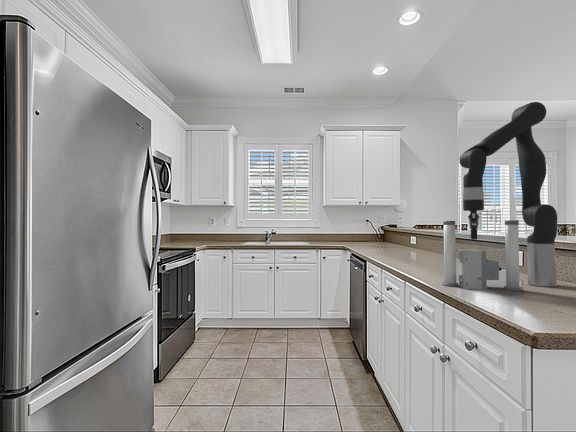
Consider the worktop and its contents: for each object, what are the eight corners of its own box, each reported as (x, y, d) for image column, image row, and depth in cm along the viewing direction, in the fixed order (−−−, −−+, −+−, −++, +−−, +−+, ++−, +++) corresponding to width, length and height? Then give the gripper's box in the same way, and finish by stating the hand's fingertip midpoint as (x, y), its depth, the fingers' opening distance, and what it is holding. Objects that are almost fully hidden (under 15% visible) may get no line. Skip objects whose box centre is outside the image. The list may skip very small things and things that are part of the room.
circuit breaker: (503, 289, 135) (503, 251, 135) (464, 288, 138) (463, 251, 138) (496, 286, 143) (495, 249, 143) (458, 285, 145) (458, 249, 146)
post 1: (458, 284, 147) (457, 220, 147) (458, 287, 141) (456, 220, 142) (443, 283, 150) (441, 220, 150) (442, 286, 144) (440, 221, 144)
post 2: (521, 289, 137) (519, 220, 137) (523, 291, 131) (521, 220, 132) (503, 287, 139) (501, 220, 140) (504, 290, 134) (503, 220, 134)
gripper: (484, 197, 134) (485, 240, 133) (483, 199, 146) (483, 238, 146) (462, 198, 137) (463, 239, 137) (463, 200, 150) (463, 237, 150)
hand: (474, 238), depth 141 cm, fingers open, 8 cm apart
